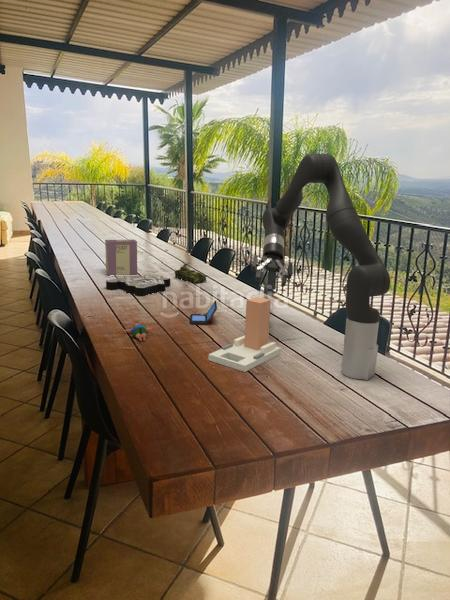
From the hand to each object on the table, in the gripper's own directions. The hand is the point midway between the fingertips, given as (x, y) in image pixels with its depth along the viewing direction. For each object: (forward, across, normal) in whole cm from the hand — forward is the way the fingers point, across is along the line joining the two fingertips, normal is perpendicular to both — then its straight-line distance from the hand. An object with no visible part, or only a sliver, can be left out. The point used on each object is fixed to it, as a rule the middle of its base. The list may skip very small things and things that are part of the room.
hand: (270, 282), depth 156 cm
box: (-70, -70, +97) cm, 139 cm away
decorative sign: (-46, -53, +75) cm, 102 cm away
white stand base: (+24, -4, +12) cm, 27 cm away
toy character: (+14, -41, +28) cm, 52 cm away
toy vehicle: (-67, -30, +86) cm, 113 cm away
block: (+18, -1, +12) cm, 22 cm away
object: (-6, -19, +38) cm, 43 cm away
